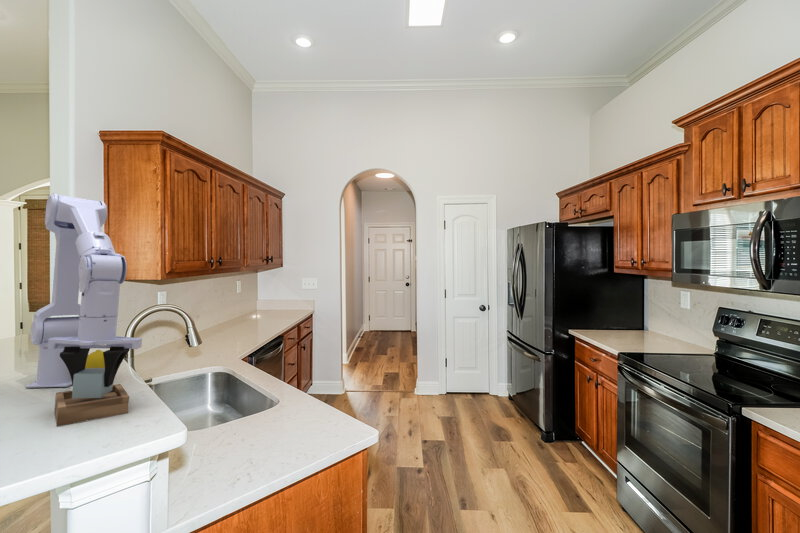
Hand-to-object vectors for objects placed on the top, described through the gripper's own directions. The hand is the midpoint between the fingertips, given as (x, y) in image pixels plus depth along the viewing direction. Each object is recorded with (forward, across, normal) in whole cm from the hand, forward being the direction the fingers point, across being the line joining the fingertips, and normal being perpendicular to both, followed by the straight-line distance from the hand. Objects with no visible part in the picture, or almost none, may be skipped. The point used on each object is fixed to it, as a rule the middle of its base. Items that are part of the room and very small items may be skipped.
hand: (93, 385), depth 69 cm
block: (+2, 0, 0) cm, 2 cm away
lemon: (+5, -8, +19) cm, 21 cm away
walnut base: (+5, 0, 0) cm, 5 cm away
